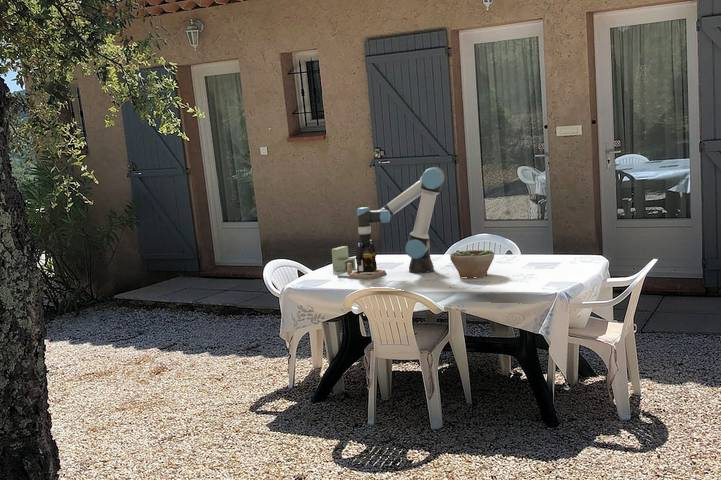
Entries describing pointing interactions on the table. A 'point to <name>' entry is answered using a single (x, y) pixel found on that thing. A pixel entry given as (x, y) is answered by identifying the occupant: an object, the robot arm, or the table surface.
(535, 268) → the table surface
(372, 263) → the candle
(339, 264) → the feeder
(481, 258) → the planter
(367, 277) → the pin board
